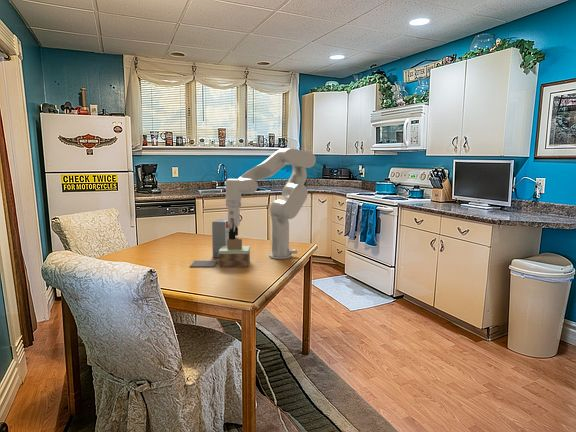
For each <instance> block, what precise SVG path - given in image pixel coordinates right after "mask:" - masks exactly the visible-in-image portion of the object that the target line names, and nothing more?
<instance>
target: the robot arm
mask: <svg viewBox="0 0 576 432" xmlns="http://www.w3.org/2000/svg"><path fill="white" fill-rule="evenodd" d="M316 162H317V158H316V155H315V154H314V153H313V152H312V151H307V150H301V149H296V148H290V147H289V148H288V147H285V148H280V149H277V150H276V151H275V152H274V153H273V154H271V155H270V156H268V158H266V159H265V160H264V161H262V162H261V163H260V164H258V165H256V166H254V167H252V168H250V169H249V170H247V171H245V172H244V173H243V174H242V175H240V176H239V177H238V178H227V179H226V180H225V207H226V208H227V218H228V226H229V239H231V240H235V238H236V237H237V236H238V235H239V226H240V224H241V217H240V215H241V214H240V208H241V207H242V194H254V193H256V191H257V190H258V187H259V186H258V182H259V181H260V180H264V179H268V178H271V177H272V176H274V175H275V174H276V173H278V172H279V171H280V170H281V169H282V168H284V167H285V166H286V165H287V166H288V165H291V167H292V173H291V175H290V177H289V178H288V180H287V182H286V183H285V185H284V187H283V188H282V190H281V191H282V192H281V196H282V198H283V199H281V198H280V199H275V200H273V201H272V202H271V204H270V206H269V213H270V218H271V219H270V220H271V252H270V253H269V254H268V257H269V258H271V259H274V260H286V259H287V260H288V259H290V258H292V256H293V254H298V249H291V248H290V222H289V220H292V219H294V218H296V216H298V214H299V212H300V210H301V209H302V207H303V205H304V204H305V202H306V200H307V199H308V189H307V187H306V185H305V183H306V180H307V176H308V175H307V169H309V168H312V167H314V166H315V165H316Z"/></svg>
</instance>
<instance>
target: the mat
mask: <svg viewBox="0 0 576 432" xmlns="http://www.w3.org/2000/svg"><path fill="white" fill-rule="evenodd" d="M217 263H218V260H194V261H192V263H191V264H190V265H189V268H215V267H216V264H217Z"/></svg>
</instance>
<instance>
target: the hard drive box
mask: <svg viewBox="0 0 576 432" xmlns="http://www.w3.org/2000/svg"><path fill="white" fill-rule="evenodd" d="M211 224H212V225H211V228H212V229H211V234H212V238H211V239H212V246H211V247H212V257H213V258H220V256H219V250H220V248H221V247H222V246H227V239H228V238H229V226H228V217H221V218H218V219H216V220H213V221H212V222H211Z"/></svg>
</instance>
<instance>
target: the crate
mask: <svg viewBox="0 0 576 432" xmlns="http://www.w3.org/2000/svg"><path fill="white" fill-rule="evenodd" d="M250 250H251V249H250ZM250 250H249V253H248V254H219V256H220V257H219V268H249V265H250V262H251V259H250V258H251V254H250V253H251V252H250Z"/></svg>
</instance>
